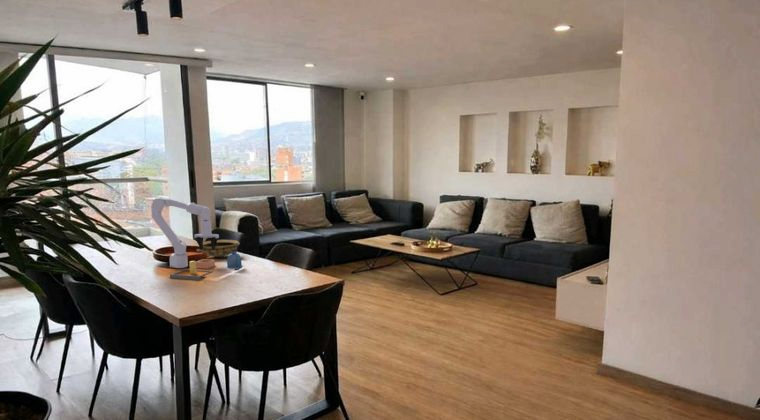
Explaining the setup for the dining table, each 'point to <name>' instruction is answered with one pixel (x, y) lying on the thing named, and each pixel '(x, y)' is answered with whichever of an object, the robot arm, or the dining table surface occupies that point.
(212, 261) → the peach hollow square block
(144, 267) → the dining table surface
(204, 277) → the tray
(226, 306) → the dining table surface
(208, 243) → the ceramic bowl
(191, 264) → the dowel
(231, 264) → the perfume bottle
